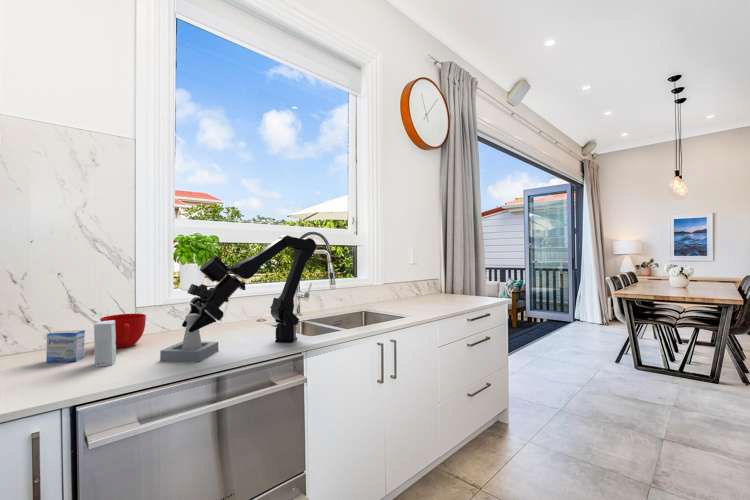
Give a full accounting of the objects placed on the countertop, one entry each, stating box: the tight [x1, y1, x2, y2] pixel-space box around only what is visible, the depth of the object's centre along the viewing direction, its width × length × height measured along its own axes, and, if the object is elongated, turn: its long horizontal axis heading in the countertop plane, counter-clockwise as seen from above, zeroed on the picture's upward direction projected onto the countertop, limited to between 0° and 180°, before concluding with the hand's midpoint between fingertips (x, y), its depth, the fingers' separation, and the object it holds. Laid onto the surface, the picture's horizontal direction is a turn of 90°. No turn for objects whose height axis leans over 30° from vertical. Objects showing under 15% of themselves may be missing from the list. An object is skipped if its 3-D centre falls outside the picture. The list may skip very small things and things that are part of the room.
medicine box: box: [45, 329, 86, 364], centre depth 112 cm, size 8×4×9 cm, turn 101°
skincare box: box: [93, 320, 117, 368], centre depth 109 cm, size 6×4×12 cm
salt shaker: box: [182, 313, 202, 350], centre depth 118 cm, size 6×6×13 cm
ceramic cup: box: [100, 313, 147, 349], centre depth 127 cm, size 13×17×10 cm
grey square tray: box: [159, 340, 219, 363], centre depth 117 cm, size 12×12×3 cm
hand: (186, 329), depth 117 cm, fingers open, 9 cm apart
